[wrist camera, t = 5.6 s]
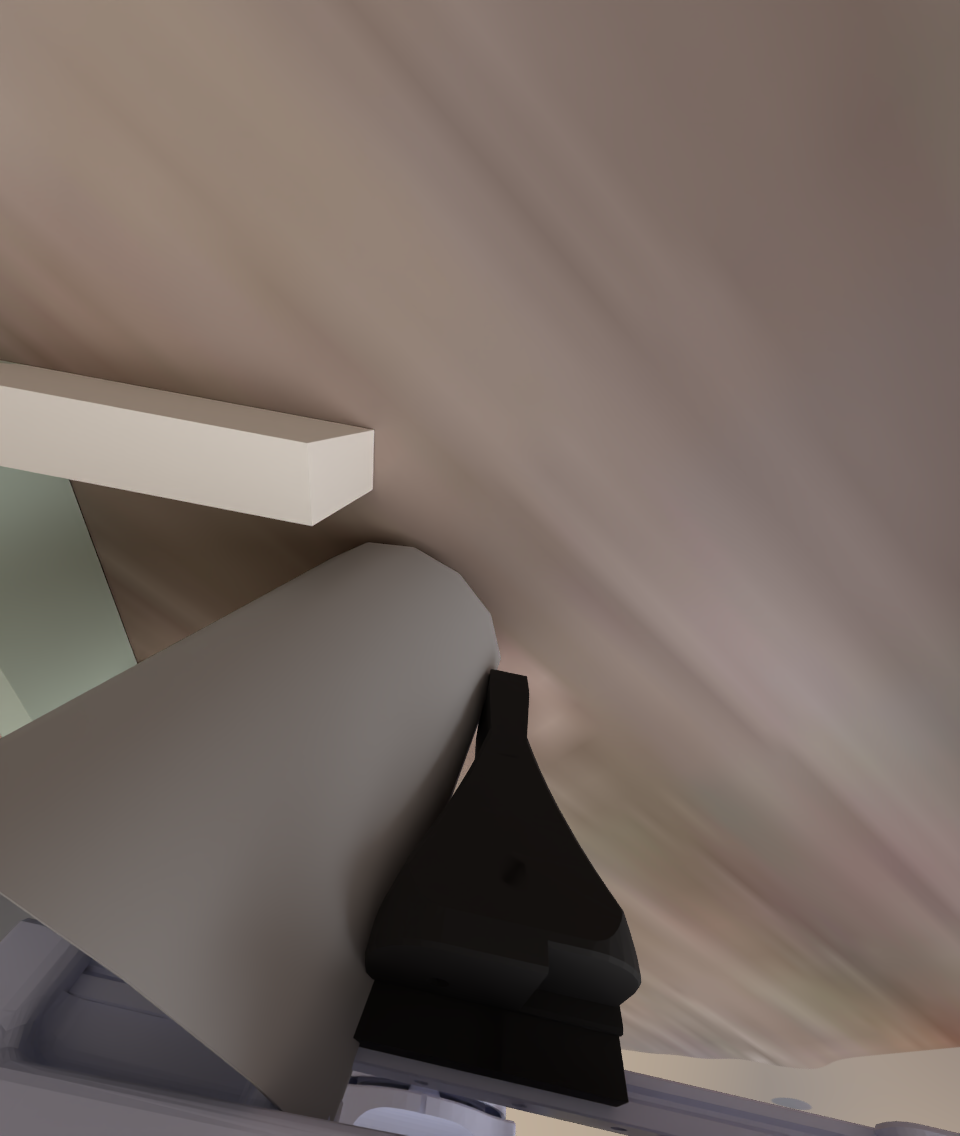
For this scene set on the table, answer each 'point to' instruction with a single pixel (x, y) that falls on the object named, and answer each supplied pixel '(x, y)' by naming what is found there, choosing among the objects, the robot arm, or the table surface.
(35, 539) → the stall
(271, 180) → the table surface
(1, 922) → the cup
